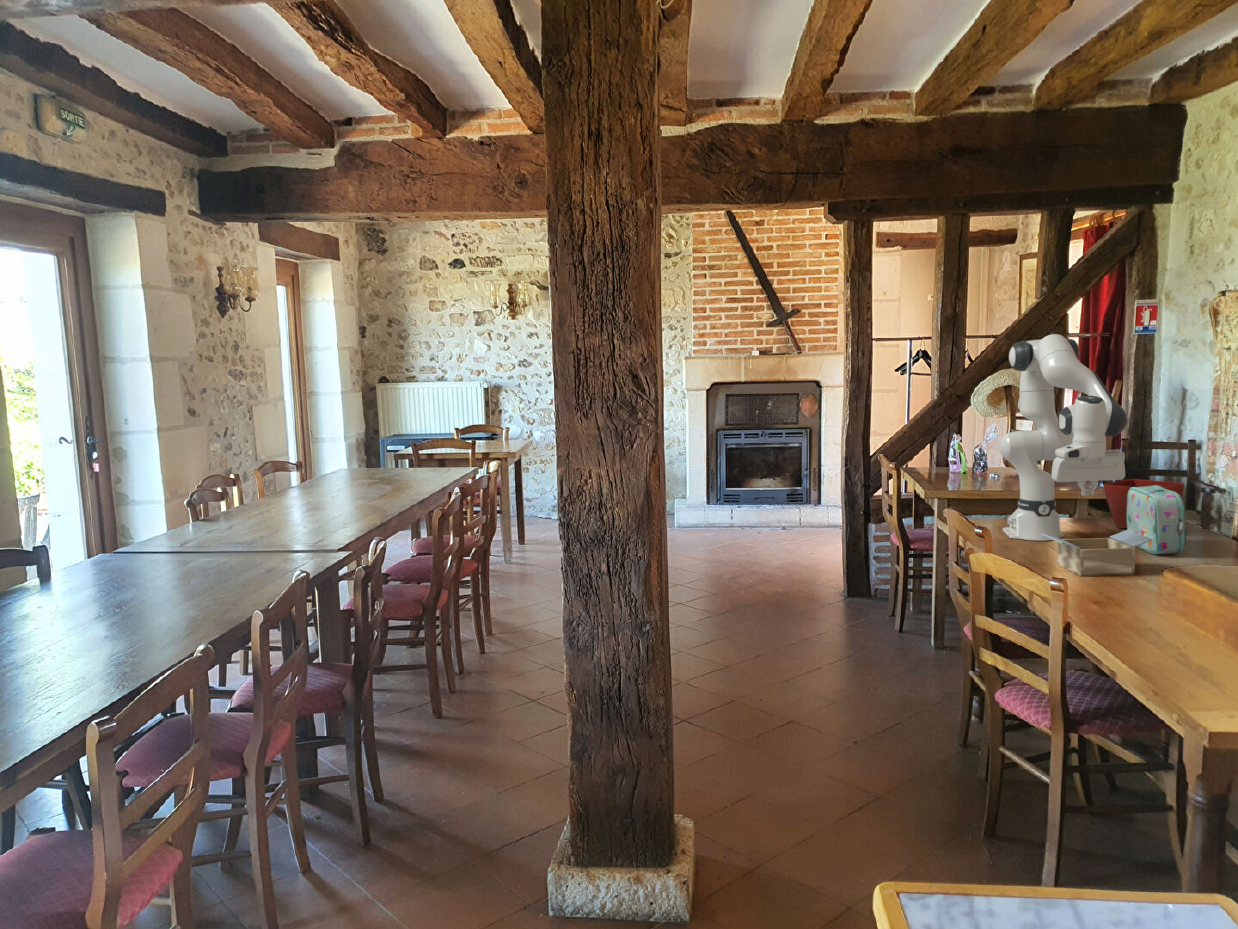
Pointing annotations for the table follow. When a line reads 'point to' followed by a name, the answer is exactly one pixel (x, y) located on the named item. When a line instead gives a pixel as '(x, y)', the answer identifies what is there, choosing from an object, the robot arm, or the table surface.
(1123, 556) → the crate
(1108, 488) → the plant pot
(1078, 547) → the flap
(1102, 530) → the table surface
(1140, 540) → the flap
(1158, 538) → the lunch box
